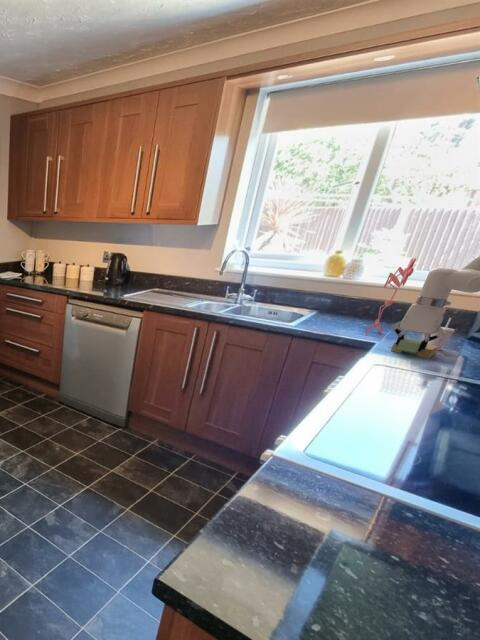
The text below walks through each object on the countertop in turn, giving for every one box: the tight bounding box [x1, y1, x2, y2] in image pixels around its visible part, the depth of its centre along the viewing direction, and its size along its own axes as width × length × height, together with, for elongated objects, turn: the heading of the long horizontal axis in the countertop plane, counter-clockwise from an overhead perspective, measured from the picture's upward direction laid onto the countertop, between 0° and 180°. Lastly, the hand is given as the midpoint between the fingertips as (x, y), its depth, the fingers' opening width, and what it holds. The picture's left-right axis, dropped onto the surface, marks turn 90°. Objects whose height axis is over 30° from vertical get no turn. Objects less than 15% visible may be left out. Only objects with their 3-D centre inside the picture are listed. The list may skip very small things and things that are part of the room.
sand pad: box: [390, 341, 438, 359], centre depth 170 cm, size 11×11×4 cm
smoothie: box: [428, 317, 456, 351], centre depth 172 cm, size 6×6×14 cm
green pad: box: [397, 337, 424, 353], centre depth 165 cm, size 6×10×4 cm, turn 125°
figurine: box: [362, 257, 417, 339], centre depth 192 cm, size 15×26×35 cm, turn 136°
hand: (409, 348), depth 165 cm, fingers closed on green pad, 5 cm apart
